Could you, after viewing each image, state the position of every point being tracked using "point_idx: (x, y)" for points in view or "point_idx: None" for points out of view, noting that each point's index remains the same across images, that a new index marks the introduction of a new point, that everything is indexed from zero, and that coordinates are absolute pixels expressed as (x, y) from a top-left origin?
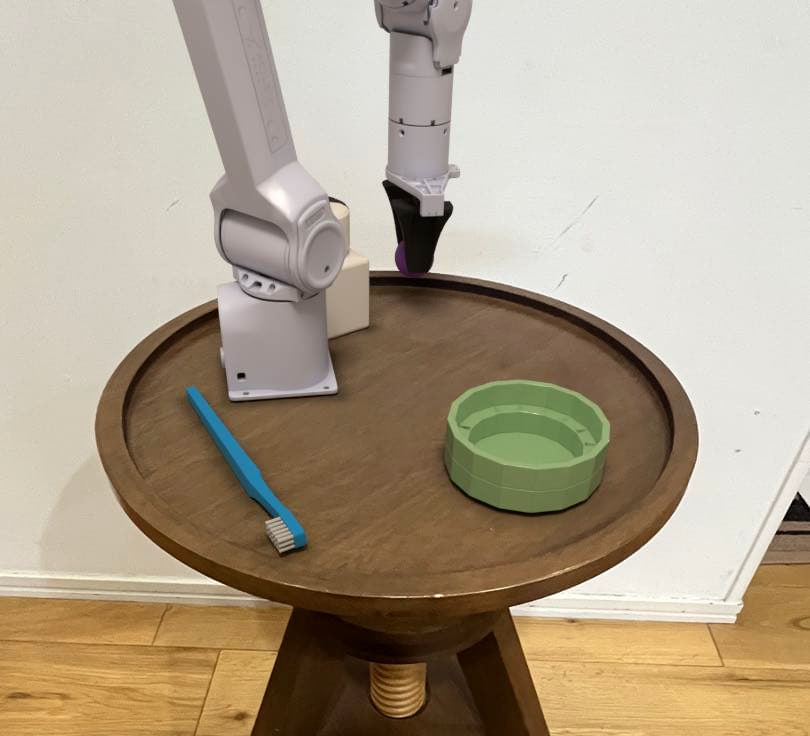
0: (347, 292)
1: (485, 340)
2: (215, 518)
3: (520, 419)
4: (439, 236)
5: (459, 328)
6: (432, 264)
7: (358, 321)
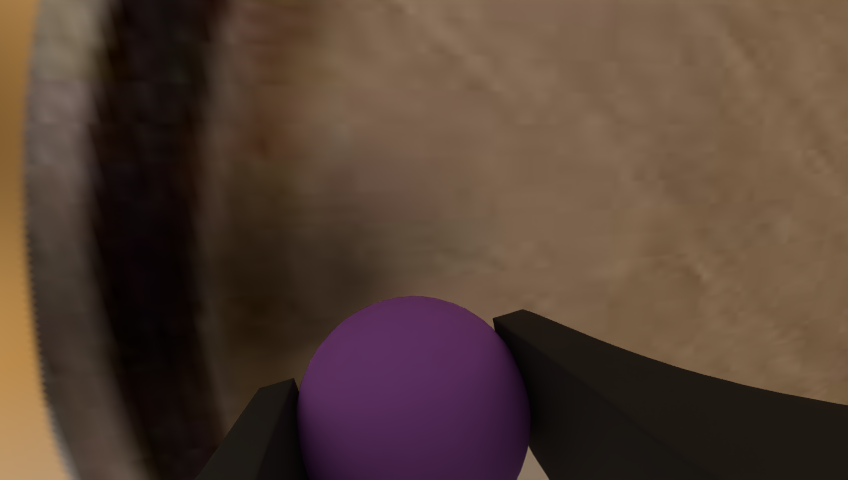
0: None
1: (651, 8)
2: None
3: None
4: (725, 380)
5: (559, 110)
6: (444, 301)
7: None
